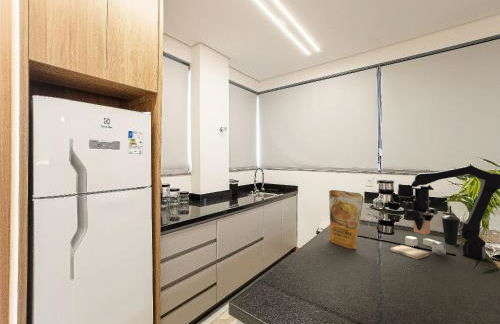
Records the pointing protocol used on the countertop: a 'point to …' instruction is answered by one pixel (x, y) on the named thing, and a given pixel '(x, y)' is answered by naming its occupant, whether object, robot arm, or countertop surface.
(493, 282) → the countertop surface
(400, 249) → the birch board
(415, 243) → the cream cube
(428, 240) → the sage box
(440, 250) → the grey cylinder
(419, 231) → the terracotta block
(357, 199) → the pancake mix bag
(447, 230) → the drinking cup
